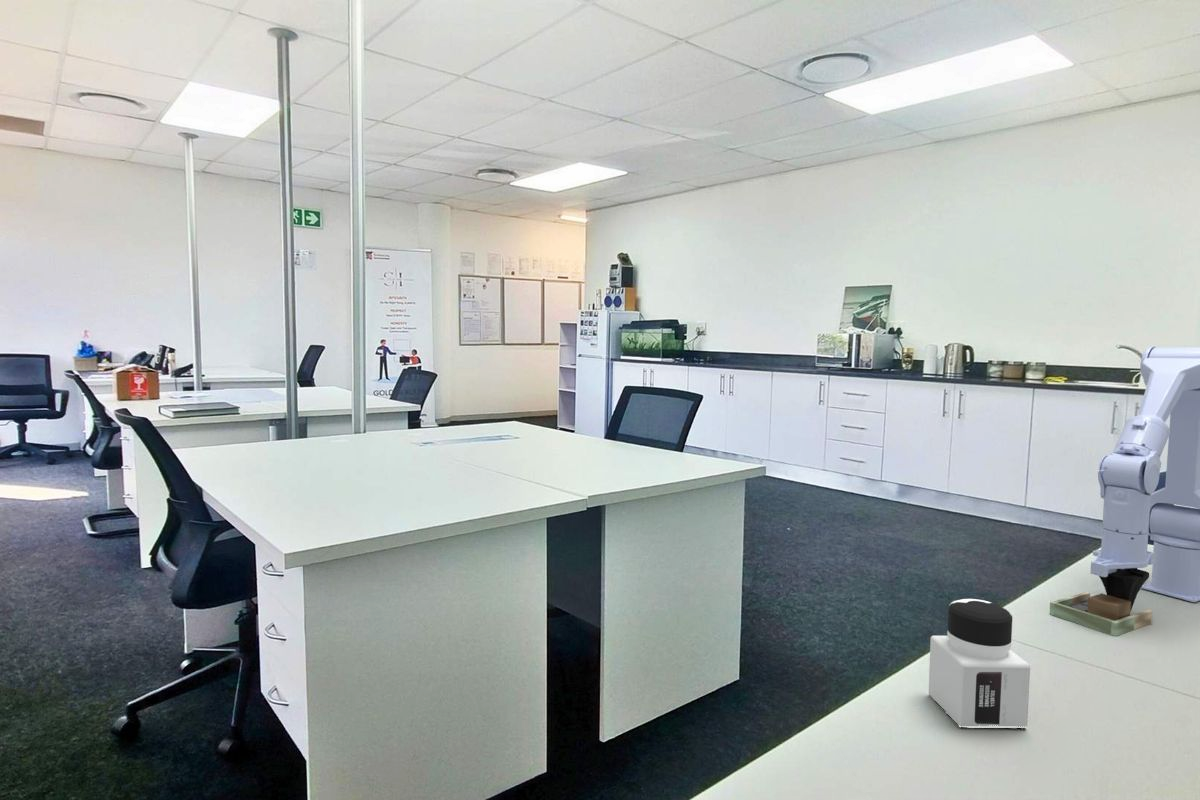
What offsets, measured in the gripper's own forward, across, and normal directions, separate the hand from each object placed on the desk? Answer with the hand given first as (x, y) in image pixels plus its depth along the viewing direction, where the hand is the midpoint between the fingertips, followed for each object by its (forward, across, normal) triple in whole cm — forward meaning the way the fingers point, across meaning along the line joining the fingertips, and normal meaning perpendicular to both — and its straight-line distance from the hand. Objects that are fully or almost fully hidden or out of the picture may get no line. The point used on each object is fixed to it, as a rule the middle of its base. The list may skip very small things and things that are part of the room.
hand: (1119, 613), depth 106 cm
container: (+1, +46, +7) cm, 47 cm away
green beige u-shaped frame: (+1, +2, -2) cm, 3 cm away
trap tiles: (+1, 0, -5) cm, 5 cm away
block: (+1, +3, 0) cm, 4 cm away
